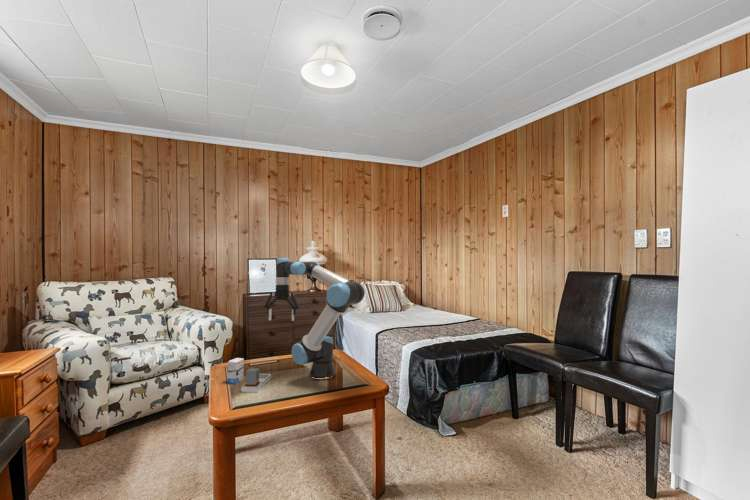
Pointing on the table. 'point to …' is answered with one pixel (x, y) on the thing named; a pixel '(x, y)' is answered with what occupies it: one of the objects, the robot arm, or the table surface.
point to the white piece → (262, 381)
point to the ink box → (235, 370)
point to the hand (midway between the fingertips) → (281, 320)
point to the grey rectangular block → (252, 377)
